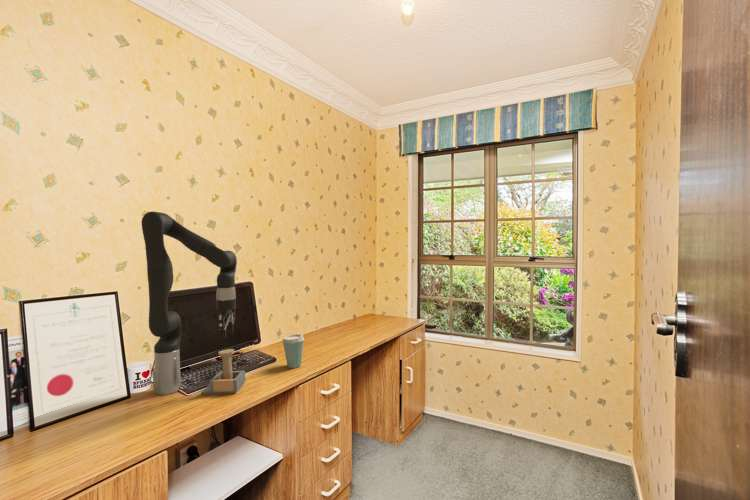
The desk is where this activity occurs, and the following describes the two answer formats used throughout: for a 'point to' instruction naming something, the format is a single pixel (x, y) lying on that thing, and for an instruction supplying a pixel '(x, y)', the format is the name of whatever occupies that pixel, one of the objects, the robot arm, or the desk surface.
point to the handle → (226, 363)
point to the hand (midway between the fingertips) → (226, 336)
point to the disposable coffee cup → (293, 349)
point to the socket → (225, 383)
